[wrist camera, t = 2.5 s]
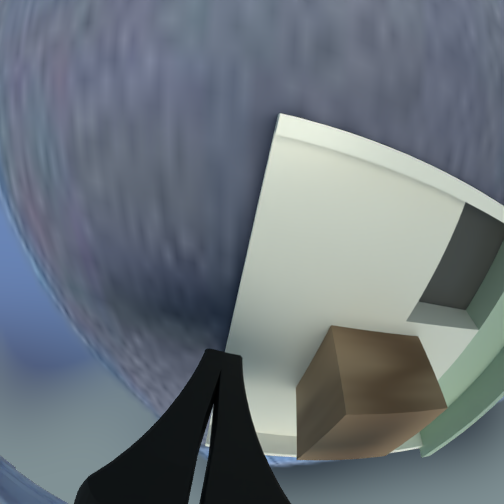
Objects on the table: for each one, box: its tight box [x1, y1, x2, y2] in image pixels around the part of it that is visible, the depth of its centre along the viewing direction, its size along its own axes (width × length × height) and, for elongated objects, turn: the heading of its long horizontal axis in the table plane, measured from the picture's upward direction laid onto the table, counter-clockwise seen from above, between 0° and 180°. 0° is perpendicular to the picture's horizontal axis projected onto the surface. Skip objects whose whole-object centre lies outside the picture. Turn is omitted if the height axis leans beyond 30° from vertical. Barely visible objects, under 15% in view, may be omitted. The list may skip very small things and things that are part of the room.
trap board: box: [205, 113, 504, 457], centre depth 11 cm, size 18×18×4 cm
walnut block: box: [296, 325, 448, 460], centre depth 10 cm, size 4×4×4 cm
